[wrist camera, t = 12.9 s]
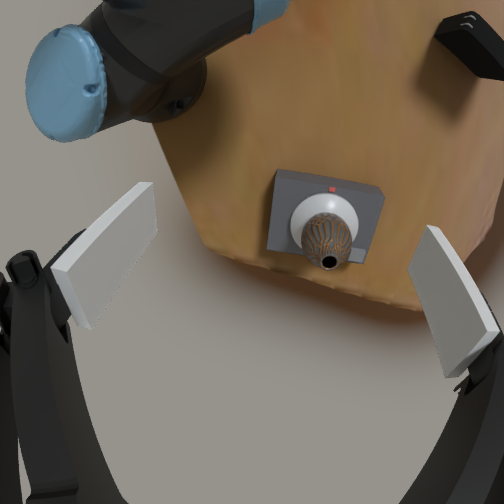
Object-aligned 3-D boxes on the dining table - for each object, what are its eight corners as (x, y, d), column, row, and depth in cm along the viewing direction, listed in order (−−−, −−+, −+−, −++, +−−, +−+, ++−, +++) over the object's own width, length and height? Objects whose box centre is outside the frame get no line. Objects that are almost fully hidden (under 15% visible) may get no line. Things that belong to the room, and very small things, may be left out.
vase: (319, 196, 37) (324, 226, 30) (357, 222, 38) (369, 257, 31) (291, 231, 41) (289, 268, 34) (328, 254, 42) (333, 293, 35)
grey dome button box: (268, 236, 48) (265, 253, 44) (277, 168, 41) (274, 179, 37) (359, 250, 47) (364, 267, 43) (378, 186, 40) (386, 199, 36)
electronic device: (477, 77, 25) (514, 83, 17) (432, 36, 24) (465, 29, 16) (485, 61, 23) (522, 63, 15) (441, 19, 22) (474, 9, 14)
